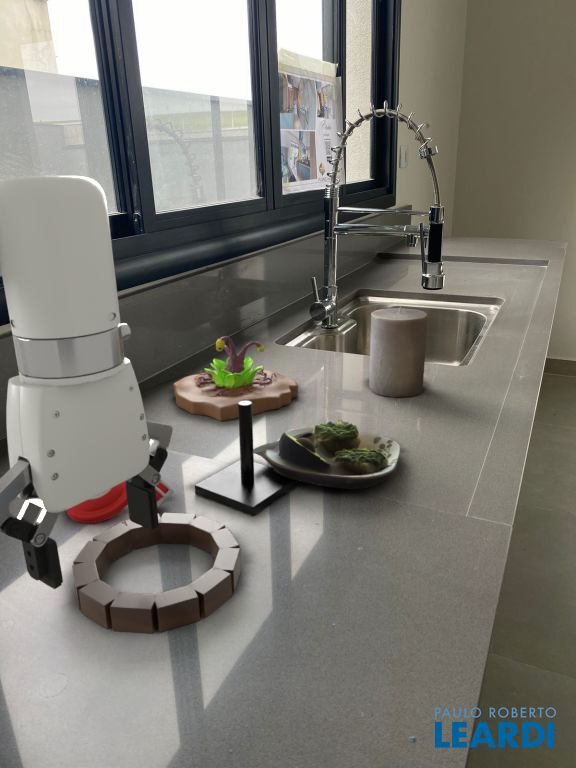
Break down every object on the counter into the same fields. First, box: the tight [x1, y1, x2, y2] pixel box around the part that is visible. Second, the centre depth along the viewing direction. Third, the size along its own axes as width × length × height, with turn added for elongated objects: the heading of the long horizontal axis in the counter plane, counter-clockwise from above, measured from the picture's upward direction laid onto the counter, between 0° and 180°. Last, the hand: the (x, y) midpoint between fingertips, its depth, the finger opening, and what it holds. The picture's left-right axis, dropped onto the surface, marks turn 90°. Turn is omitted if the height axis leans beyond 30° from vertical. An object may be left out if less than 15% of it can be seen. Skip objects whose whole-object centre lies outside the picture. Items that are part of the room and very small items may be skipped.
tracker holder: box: [65, 478, 175, 524], centre depth 70 cm, size 12×4×10 cm
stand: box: [194, 401, 300, 517], centre depth 71 cm, size 9×9×11 cm
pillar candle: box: [368, 305, 428, 398], centre depth 106 cm, size 10×10×15 cm
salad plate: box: [253, 419, 401, 490], centre depth 80 cm, size 19×18×5 cm
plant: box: [173, 336, 299, 422], centre depth 103 cm, size 20×20×11 cm
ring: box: [71, 512, 242, 634], centre depth 57 cm, size 15×15×2 cm
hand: (99, 550), depth 50 cm, fingers open, 9 cm apart
